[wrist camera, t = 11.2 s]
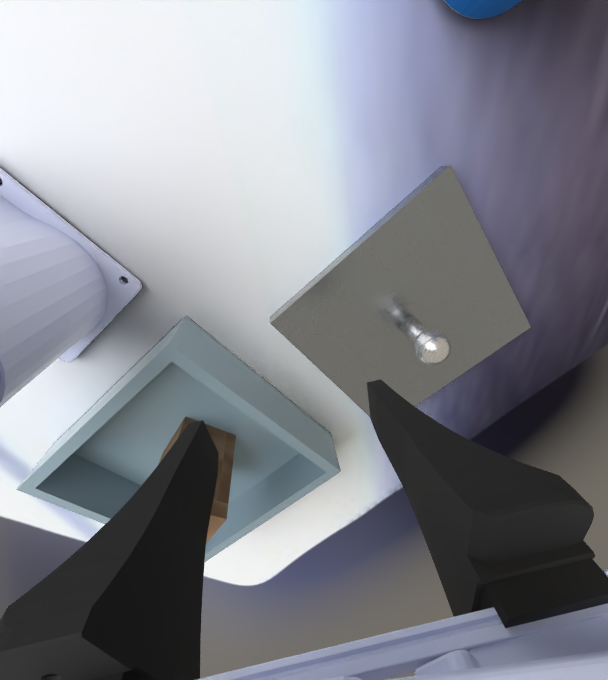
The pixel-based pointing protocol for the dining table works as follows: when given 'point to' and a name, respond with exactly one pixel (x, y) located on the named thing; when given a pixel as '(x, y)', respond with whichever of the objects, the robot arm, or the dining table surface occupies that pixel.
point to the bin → (163, 421)
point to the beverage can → (481, 7)
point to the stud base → (407, 300)
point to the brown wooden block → (225, 464)
